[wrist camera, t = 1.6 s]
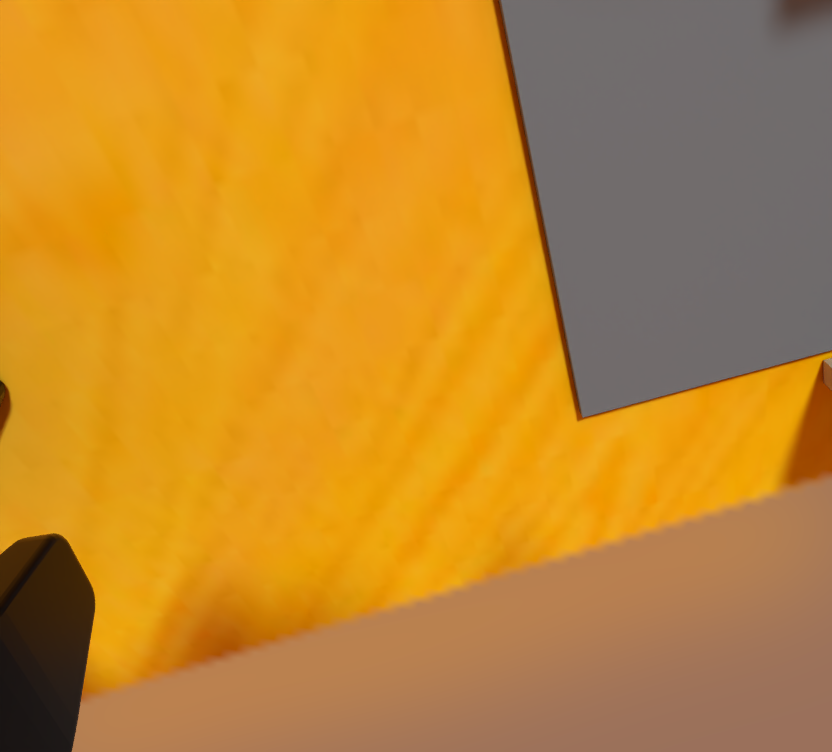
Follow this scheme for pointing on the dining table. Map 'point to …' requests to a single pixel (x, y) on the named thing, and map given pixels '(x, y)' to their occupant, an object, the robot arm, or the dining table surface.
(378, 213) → the dining table surface
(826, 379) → the brown open rectangular box
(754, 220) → the mat
